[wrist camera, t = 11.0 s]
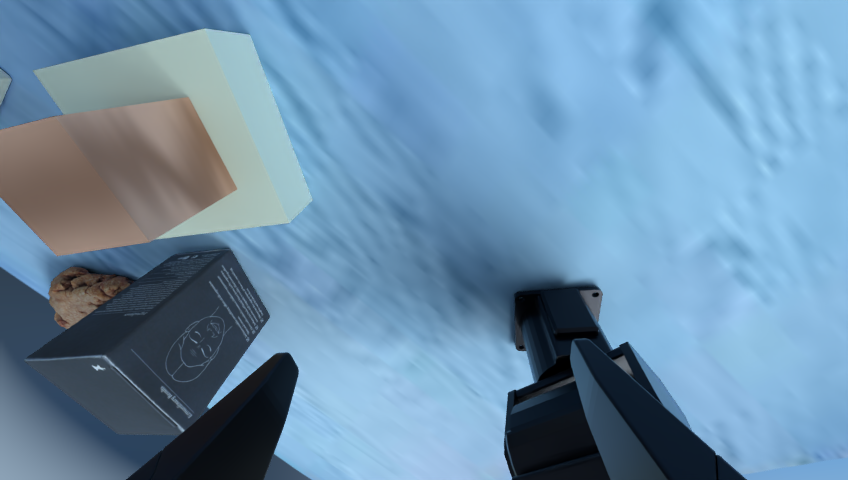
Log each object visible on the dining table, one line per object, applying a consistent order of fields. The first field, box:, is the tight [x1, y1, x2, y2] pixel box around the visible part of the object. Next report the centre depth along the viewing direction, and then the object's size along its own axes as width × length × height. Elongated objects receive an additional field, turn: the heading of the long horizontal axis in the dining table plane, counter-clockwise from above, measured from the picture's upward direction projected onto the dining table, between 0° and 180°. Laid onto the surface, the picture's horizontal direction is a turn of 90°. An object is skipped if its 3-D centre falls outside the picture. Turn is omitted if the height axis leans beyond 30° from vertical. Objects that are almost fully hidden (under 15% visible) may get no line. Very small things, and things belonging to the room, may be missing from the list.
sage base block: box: [33, 28, 312, 240], centre depth 19 cm, size 10×10×4 cm
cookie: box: [49, 267, 134, 329], centre depth 28 cm, size 10×11×3 cm
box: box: [24, 249, 270, 435], centre depth 22 cm, size 8×6×11 cm
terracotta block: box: [0, 97, 237, 256], centre depth 14 cm, size 5×5×6 cm
